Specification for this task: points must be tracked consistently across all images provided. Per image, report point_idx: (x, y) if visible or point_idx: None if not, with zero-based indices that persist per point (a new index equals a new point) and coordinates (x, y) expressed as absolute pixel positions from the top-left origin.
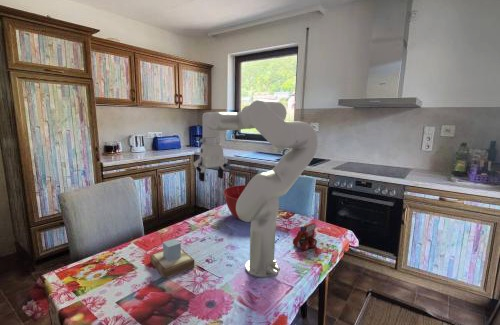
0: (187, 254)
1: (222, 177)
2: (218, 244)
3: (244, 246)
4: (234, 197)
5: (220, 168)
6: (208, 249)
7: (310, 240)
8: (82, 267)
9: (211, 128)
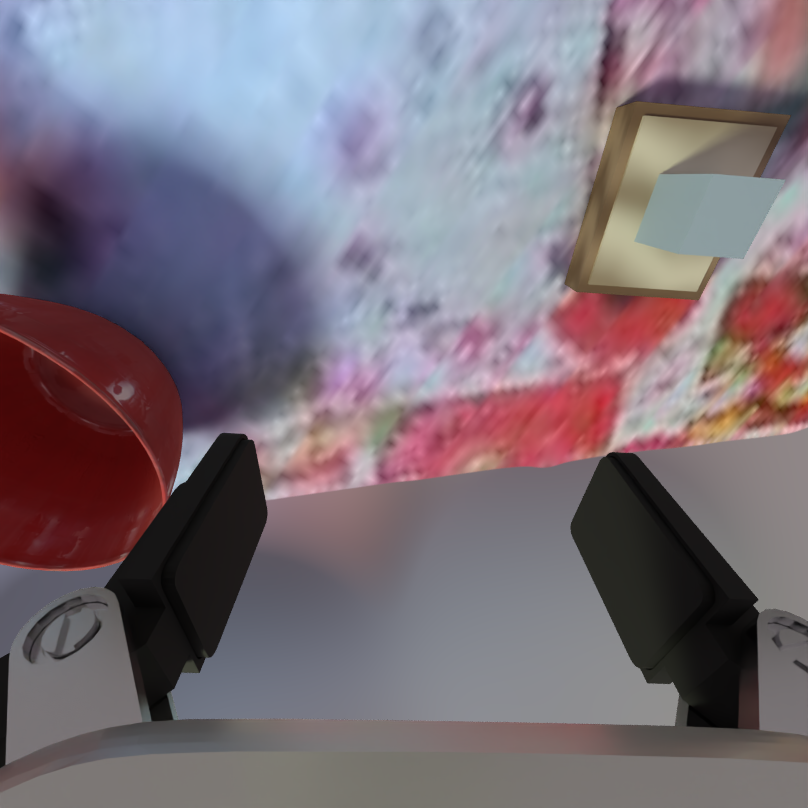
0: (613, 184)
1: (228, 440)
2: (394, 222)
3: (296, 91)
4: (98, 506)
5: (156, 659)
6: (460, 213)
7: None
8: (802, 401)
9: None
